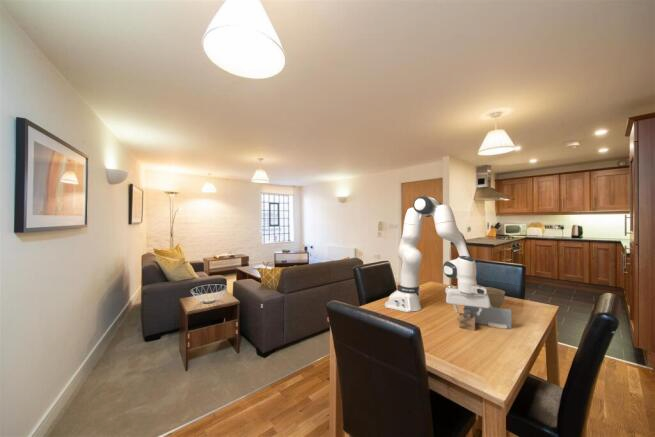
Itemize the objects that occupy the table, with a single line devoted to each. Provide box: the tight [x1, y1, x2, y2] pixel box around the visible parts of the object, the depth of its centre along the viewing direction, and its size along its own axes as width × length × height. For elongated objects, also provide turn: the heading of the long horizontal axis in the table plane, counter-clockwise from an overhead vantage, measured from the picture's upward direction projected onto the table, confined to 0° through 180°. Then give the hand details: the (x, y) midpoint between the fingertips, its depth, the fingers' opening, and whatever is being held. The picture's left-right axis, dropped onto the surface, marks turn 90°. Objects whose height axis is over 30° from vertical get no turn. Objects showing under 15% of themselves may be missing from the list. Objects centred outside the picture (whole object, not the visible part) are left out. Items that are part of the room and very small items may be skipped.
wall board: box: [464, 306, 512, 329], centre depth 136 cm, size 21×4×9 cm, turn 62°
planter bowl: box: [484, 286, 506, 308], centre depth 161 cm, size 16×16×11 cm
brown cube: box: [458, 307, 476, 332], centre depth 134 cm, size 7×7×9 cm
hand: (467, 313), depth 134 cm, fingers open, 8 cm apart
